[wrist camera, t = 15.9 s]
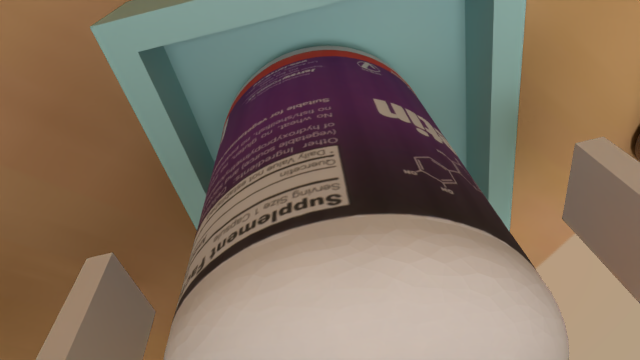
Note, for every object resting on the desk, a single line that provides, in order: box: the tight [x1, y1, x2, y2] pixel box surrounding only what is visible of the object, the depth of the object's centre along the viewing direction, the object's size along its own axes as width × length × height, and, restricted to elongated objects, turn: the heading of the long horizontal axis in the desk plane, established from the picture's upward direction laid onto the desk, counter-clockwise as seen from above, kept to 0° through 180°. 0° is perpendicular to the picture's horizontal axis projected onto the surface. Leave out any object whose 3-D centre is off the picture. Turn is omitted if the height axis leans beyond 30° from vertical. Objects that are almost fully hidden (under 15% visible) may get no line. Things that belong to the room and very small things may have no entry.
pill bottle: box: [164, 46, 569, 360], centre depth 11 cm, size 8×8×14 cm
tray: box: [90, 0, 526, 232], centre depth 17 cm, size 13×13×4 cm
